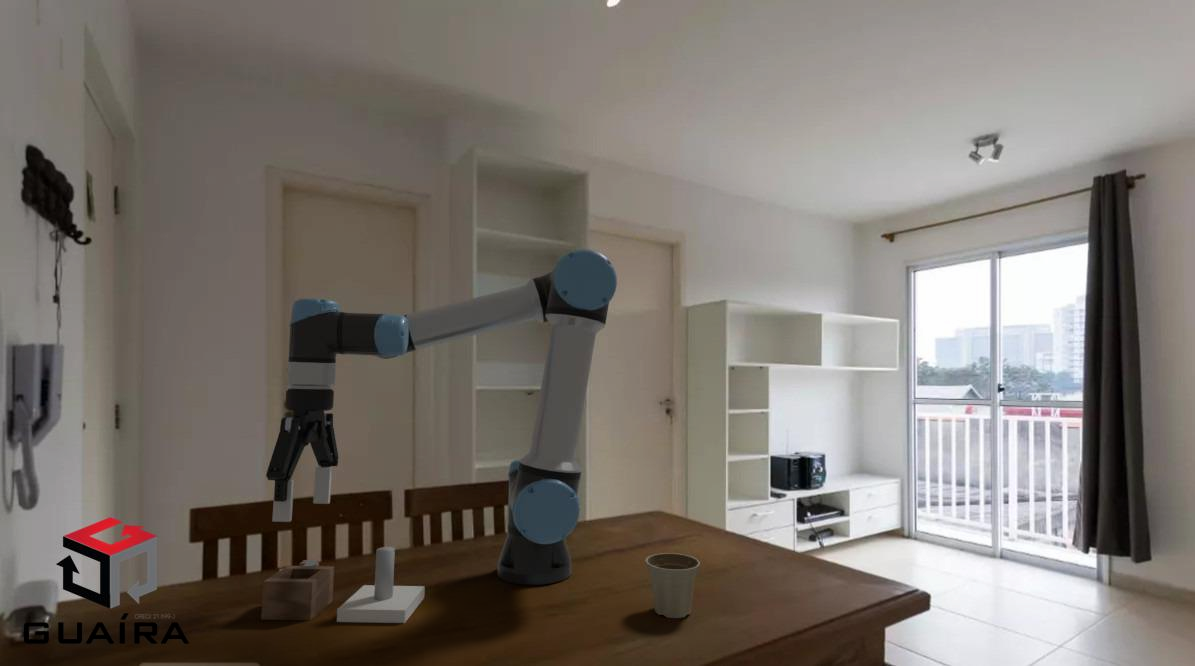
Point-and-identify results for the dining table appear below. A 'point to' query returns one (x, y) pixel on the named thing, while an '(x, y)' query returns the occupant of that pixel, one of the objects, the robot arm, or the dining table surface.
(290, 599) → the open brown box
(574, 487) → the robot arm
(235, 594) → the dining table surface
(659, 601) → the flower pot
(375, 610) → the post block
